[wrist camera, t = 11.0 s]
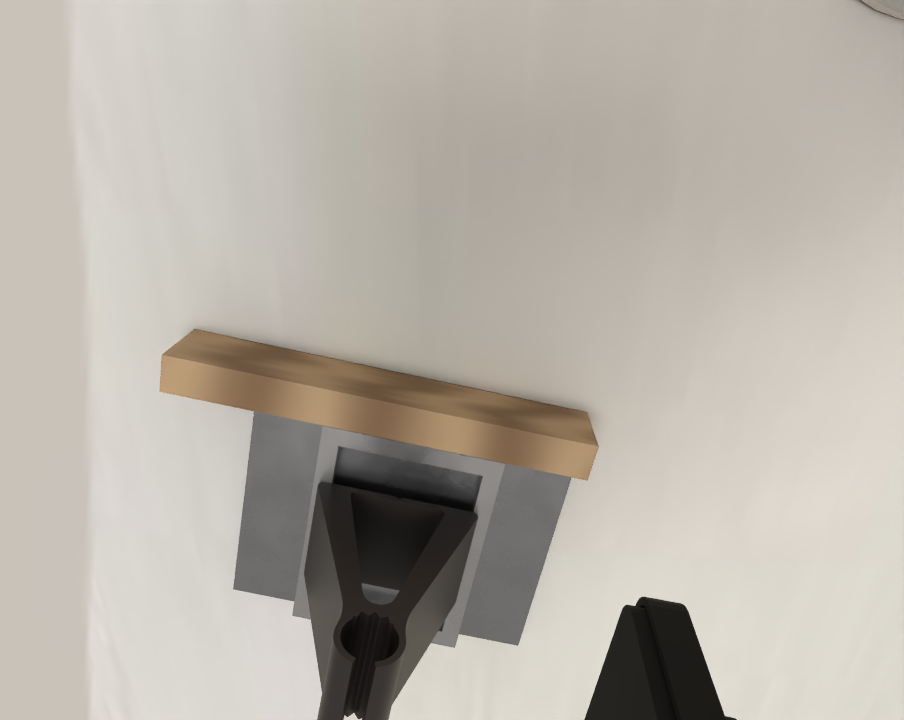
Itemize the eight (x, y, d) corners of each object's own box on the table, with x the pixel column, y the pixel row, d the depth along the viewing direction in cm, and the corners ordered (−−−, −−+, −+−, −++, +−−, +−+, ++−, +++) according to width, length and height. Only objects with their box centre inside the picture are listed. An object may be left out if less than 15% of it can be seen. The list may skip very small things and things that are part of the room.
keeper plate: (572, 459, 39) (577, 478, 37) (517, 633, 43) (519, 660, 41) (261, 393, 38) (248, 410, 36) (238, 578, 43) (226, 602, 40)
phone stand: (478, 513, 38) (478, 687, 26) (455, 598, 40) (446, 792, 28) (319, 479, 37) (250, 641, 26) (304, 567, 39) (235, 751, 28)
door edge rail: (586, 412, 38) (598, 446, 34) (576, 443, 38) (587, 480, 34) (194, 329, 37) (161, 354, 33) (191, 362, 37) (159, 391, 34)
